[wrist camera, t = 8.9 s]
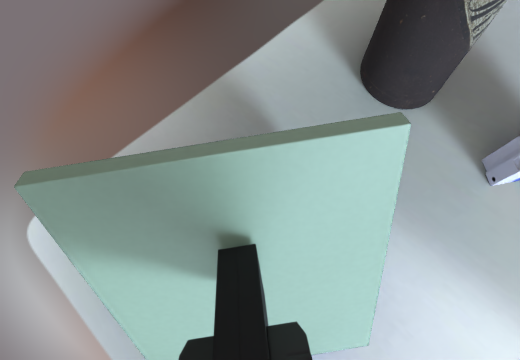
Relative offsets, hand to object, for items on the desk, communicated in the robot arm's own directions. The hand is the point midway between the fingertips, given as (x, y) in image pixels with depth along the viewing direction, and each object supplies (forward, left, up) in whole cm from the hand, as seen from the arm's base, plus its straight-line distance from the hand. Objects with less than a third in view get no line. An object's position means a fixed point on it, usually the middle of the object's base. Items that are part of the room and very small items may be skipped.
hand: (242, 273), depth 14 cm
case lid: (0, 0, -3) cm, 3 cm away
